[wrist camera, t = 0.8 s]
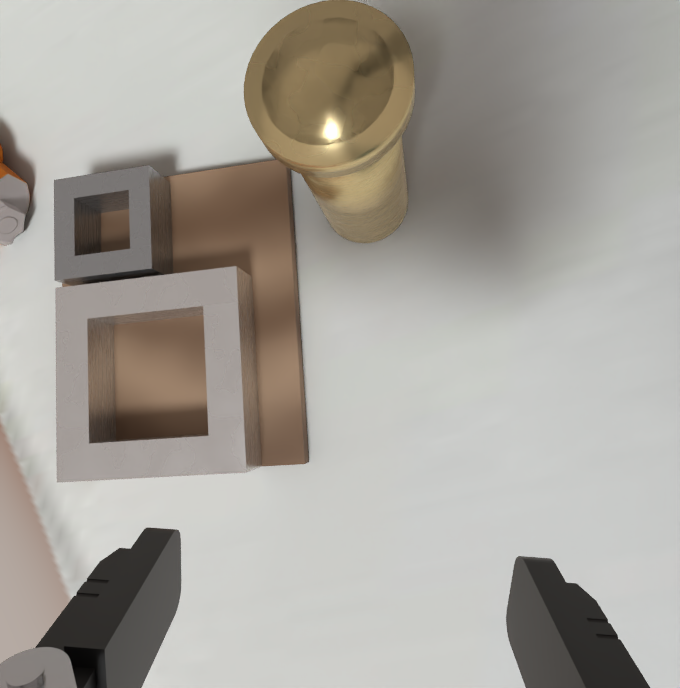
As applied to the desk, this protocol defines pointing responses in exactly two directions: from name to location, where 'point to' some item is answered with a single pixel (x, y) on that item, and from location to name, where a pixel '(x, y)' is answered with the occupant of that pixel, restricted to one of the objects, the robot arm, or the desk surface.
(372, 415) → the desk surface
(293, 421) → the walnut board
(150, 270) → the grey square ring
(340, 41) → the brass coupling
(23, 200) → the toy gun
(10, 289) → the desk surface
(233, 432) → the wide steel port
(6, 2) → the desk surface
